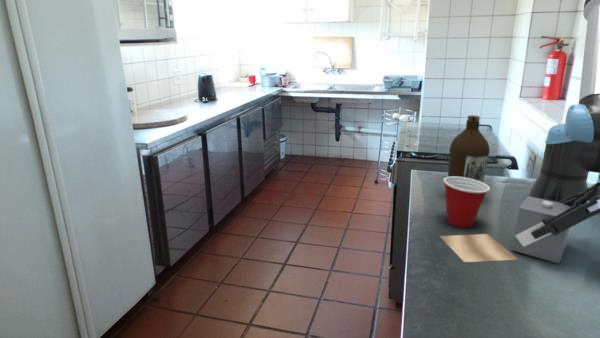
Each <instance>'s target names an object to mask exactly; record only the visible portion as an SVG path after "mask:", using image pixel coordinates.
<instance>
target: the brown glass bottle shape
mask: <svg viewBox="0 0 600 338" xmlns="http://www.w3.org/2000/svg"><path fill="white" fill-rule="evenodd" d="M480 118H481V117H480V116H479V115H474V114H473V115H468V116H467V120H466V124H465V129H463V131H462V132H460V133H459V134H458V135H456V136H455V137H454V138H453V139H452V141H451V142H450V147H449V154H448V155H449V157H448V168H447V169H448V171H447V177H450V176H458V177H466V178H471V179H474V180H477V181H480V182H483V183H484V180H485V179H484V178H485V173H486V169H487V164H488V160H489V156H490V144H489V142H488V140H487V139H486V138H485V137H484V135H483V134H482V133H481V131H480V129H479V128H480Z"/></svg>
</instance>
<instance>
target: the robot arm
mask: <svg viewBox="0 0 600 338" xmlns="http://www.w3.org/2000/svg"><path fill="white" fill-rule="evenodd" d="M582 12H583V14H582V15H583V18H584V19H585V21H587V22H586V23H587V24H586V31H585V32H586V33H585V41H584V50H583V51H584V52H583V59H582V61H583V62H582V66H581V67H582V70H581V77H580V78H581V80H580V86H579V87H580V88H579V97H578V104H571V105H570V106H568V109H567V111H566V112H567V113H566V116H565V119H564V121H565V122H564V123H560V124H555V125H553V126H552V127H550V128H549V130H548V133H547V136H546V139H545V146H544V150H543V151H544V152H543V158H542V161H541V165H540V166H541V167H540V170H539V171H540V172H539V174H538V177H537V178H536V179H535V181H534V183H533V185H532V187H530V189H529V194H528V196H530V197H535V198H539V199H544V200H549V201H554V202H559V203H562V204H565V205H568V206H571V207H570V208H568V209H567V210H565V211H563V212H562V213H560V214H558V215H557V216H555V217H553V218H552V219H550V220H548V221H546V220H545V219H543V220H541V221H542V222H541V223H539V224H537V225H535V226H533V227H531V228H529V229H527V230H525V231H523V232H521V233H519V234H517V235H516V238H517V239H518V240H519V242H520V243H521V244H522V245H523V247H524V246H527V245H529V244H531V243H533V242H535V241H537V240H539V239H542V238H544V237H546V236H548V235H550V234H553V236H555V235H558V234H559V233H561V232H563V231H565V230H567V229H568V228H572V227H574V226H576V225H577V224H580V223H582V222H583V221H585V220H587V219H590V218H591V217H593V216H595V215H598V214H600V181H599V182H596V183H595V184H593V185H591V186H589V187H588V181H587V180H588V176H589V174H590V173H598V174H599V175H598V179H599V180H600V0H584V4H583V11H582ZM589 172H590V173H589ZM555 227H556V228H555Z"/></svg>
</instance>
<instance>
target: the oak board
mask: <svg viewBox="0 0 600 338" xmlns="http://www.w3.org/2000/svg"><path fill="white" fill-rule="evenodd" d="M439 238H440V239H441V240H442V241H443V242H444V243H445V244H446V245H447V246H448V247H449V248H450V249H451V250H452V251H453V252H454V253H455V254H456V255H457V256H458V257H459V258H460V259H461V261H462V262H463V263H479V262H481V263H482V262H493V261H494V262H498V261H499V262H500V261H517V260H518V261H519V258H517V257H516V256H515V255H514V254H513V253H511V251H509V250H508V249H507V248H506V247H504V246H503V245H502V244H500V243H499V242H498V241H497V240H495V239H494V238H492V236H491V235H490V234H488V233H477V234H460V235H459V234H457V235H456V234H455V235H439Z"/></svg>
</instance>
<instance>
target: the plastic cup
mask: <svg viewBox="0 0 600 338" xmlns="http://www.w3.org/2000/svg"><path fill="white" fill-rule="evenodd" d="M443 183H444V188H445V191H444V193H445V205H446V207H445V208H446V211H445V212H446V219H447V220H446V221H447V223H448V224H450V225H451V226H454V227H459V228H471V227H472V226H474V224H475V221H476V218H477V216H478V213H479V210H480V207H481V205H482V202H483V200H484V198H485V196H487V195H486V194H487V193H488V192H490V191H491V190H490V186H489V185H488V184H486V183H485V182H484V181H483V182H480V181H477V180H474V179H471V178H466V177H458V176H450V177H448V176H446V177H444V179H443Z"/></svg>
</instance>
